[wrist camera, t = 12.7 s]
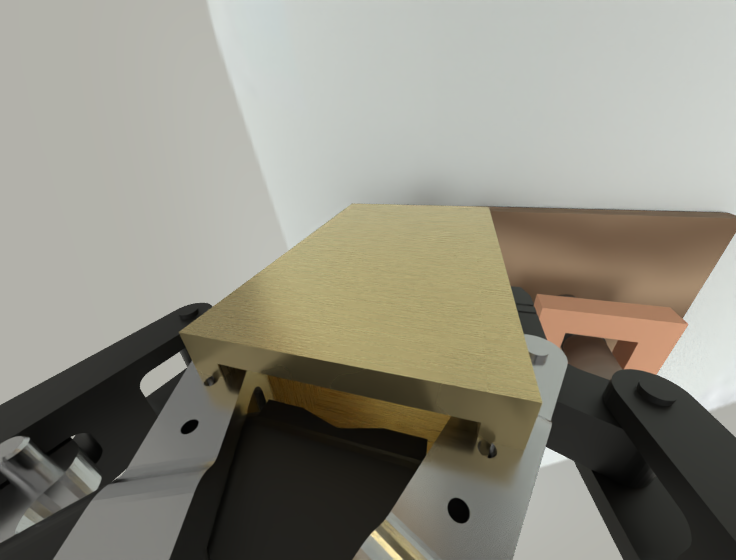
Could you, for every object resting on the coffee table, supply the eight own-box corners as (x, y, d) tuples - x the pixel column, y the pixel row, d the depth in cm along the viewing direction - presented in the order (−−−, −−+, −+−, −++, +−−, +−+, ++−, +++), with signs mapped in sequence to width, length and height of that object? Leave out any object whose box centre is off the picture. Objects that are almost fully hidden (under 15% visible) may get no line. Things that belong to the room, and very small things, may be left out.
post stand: (475, 206, 20) (489, 322, 9) (727, 212, 17) (1342, 434, 5) (456, 350, 27) (449, 522, 16) (630, 378, 23) (794, 635, 12)
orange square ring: (537, 293, 17) (542, 307, 16) (669, 307, 15) (688, 324, 14) (514, 369, 20) (518, 386, 19) (623, 388, 18) (634, 408, 17)
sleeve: (352, 203, 12) (178, 332, 5) (488, 206, 11) (542, 403, 3) (360, 308, 15) (256, 494, 8) (470, 323, 14) (477, 575, 6)
